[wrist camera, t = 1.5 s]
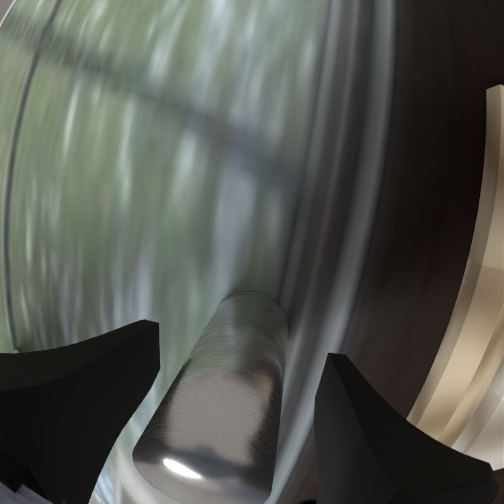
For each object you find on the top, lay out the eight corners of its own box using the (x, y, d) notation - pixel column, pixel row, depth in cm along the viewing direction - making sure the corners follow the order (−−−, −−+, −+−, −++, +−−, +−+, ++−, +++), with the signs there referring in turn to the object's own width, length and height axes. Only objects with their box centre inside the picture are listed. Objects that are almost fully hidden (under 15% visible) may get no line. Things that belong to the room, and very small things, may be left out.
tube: (281, 362, 13) (261, 520, 6) (211, 349, 14) (141, 491, 6) (293, 297, 13) (284, 454, 5) (216, 285, 13) (123, 416, 5)
